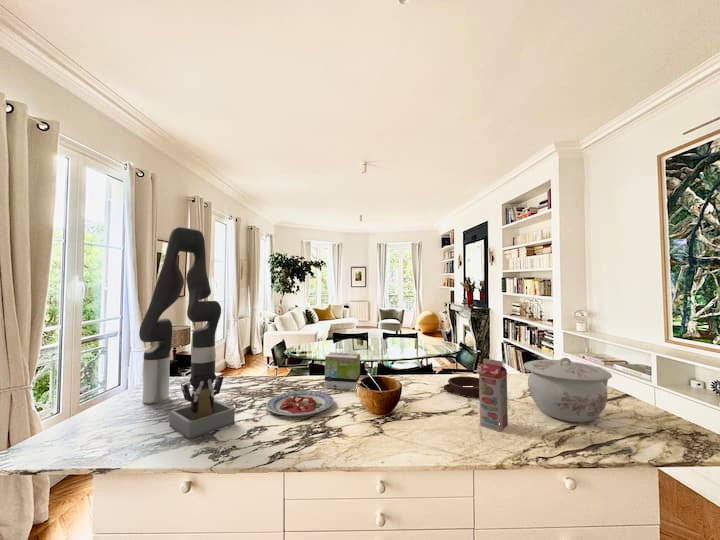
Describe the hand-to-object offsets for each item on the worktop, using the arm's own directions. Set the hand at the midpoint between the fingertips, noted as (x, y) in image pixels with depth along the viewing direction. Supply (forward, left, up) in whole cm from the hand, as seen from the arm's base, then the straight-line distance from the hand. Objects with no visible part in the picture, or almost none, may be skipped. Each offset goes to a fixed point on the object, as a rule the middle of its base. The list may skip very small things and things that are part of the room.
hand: (202, 409), depth 110 cm
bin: (0, 0, -5) cm, 5 cm away
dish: (+58, +90, -5) cm, 107 cm away
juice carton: (+77, +62, -5) cm, 99 cm away
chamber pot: (+95, +88, -5) cm, 130 cm away
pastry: (-13, +2, -5) cm, 14 cm away
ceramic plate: (+13, +32, -5) cm, 35 cm away
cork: (0, 0, -4) cm, 4 cm away
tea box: (+9, +61, -5) cm, 62 cm away
